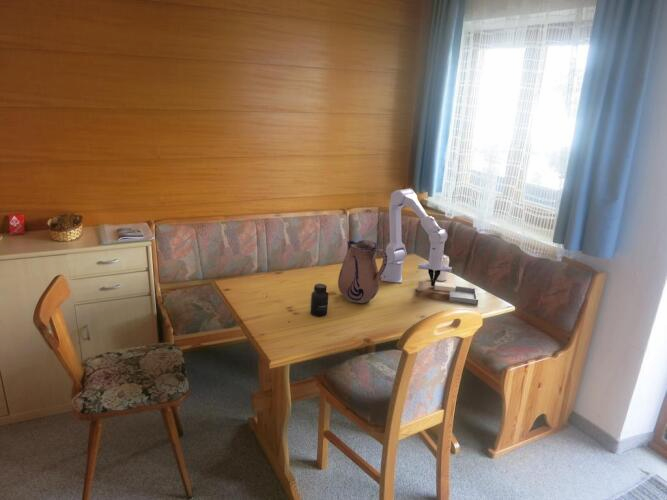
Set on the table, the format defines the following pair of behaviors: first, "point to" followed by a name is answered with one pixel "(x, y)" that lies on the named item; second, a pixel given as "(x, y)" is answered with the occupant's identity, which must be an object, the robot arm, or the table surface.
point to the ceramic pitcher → (361, 272)
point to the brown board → (431, 292)
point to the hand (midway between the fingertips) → (432, 285)
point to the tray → (464, 295)
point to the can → (443, 274)
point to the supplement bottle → (319, 301)
